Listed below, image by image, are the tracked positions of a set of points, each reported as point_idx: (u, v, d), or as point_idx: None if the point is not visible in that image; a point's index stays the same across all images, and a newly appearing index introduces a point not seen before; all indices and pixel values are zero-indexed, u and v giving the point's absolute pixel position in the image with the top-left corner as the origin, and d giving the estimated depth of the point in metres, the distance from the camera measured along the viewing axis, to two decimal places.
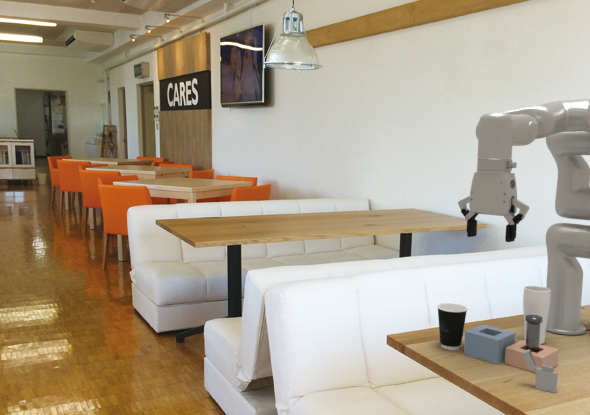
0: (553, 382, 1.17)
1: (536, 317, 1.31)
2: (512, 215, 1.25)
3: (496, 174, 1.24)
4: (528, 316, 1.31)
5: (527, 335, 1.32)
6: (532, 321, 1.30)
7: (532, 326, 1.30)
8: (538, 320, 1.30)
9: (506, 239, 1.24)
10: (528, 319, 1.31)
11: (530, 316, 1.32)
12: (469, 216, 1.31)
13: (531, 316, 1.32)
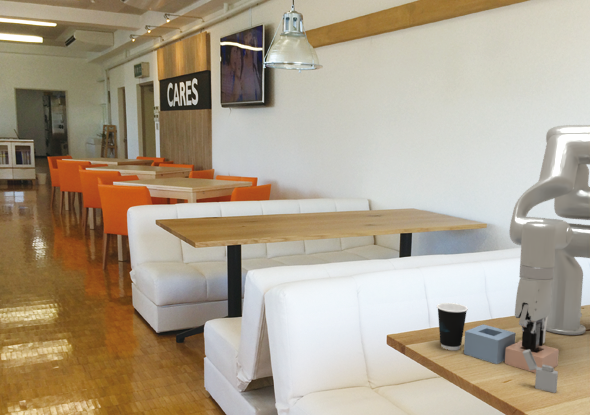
0: (553, 382, 1.17)
1: None
2: None
3: None
4: None
5: None
6: None
7: None
8: (538, 320, 1.30)
9: (541, 344, 1.32)
10: None
11: None
12: (534, 328, 1.29)
13: None
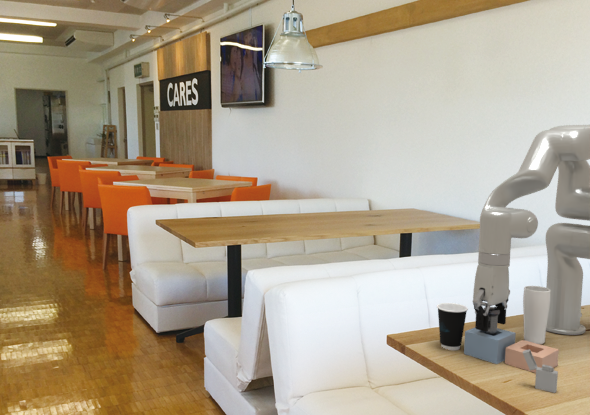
0: (553, 382, 1.17)
1: (494, 309, 1.37)
2: None
3: None
4: None
5: None
6: (489, 313, 1.36)
7: (490, 317, 1.37)
8: (495, 312, 1.36)
9: (504, 322, 1.40)
10: None
11: None
12: (487, 311, 1.34)
13: (489, 308, 1.38)
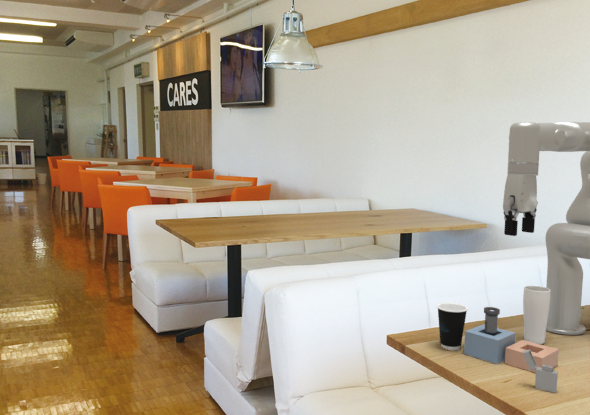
0: (553, 382, 1.17)
1: (494, 309, 1.37)
2: None
3: (534, 176, 1.43)
4: (486, 309, 1.38)
5: (485, 326, 1.38)
6: (489, 313, 1.36)
7: (490, 317, 1.37)
8: (495, 312, 1.36)
9: (533, 230, 1.46)
10: (486, 311, 1.37)
11: (488, 308, 1.38)
12: (516, 216, 1.40)
13: (489, 308, 1.38)
